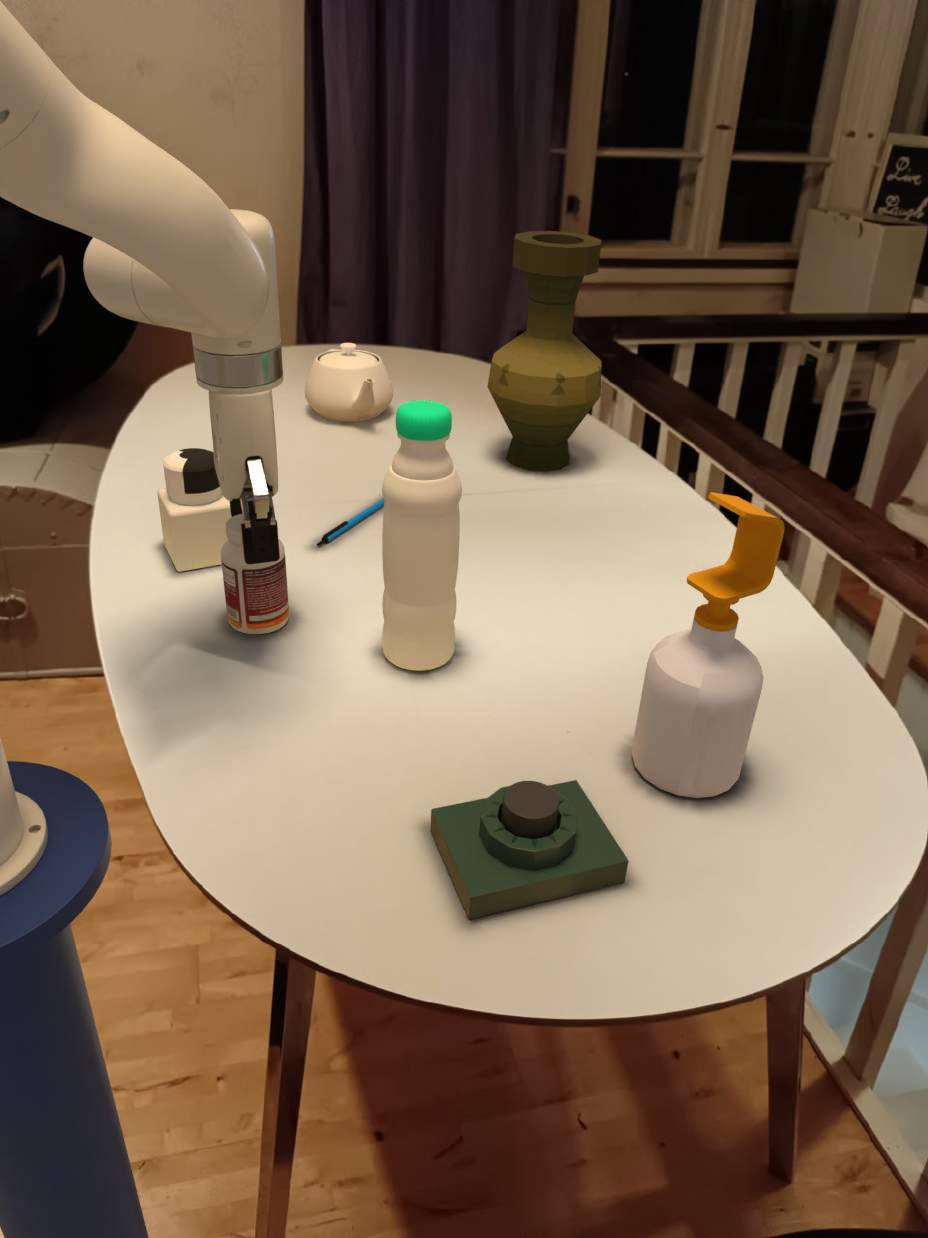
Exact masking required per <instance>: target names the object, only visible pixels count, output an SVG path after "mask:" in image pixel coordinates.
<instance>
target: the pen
mask: <svg viewBox="0 0 928 1238" xmlns="http://www.w3.org/2000/svg"><path fill="white" fill-rule="evenodd" d="M384 503H385V500H384V497H383V498H381V499H379V500H378V501H376V502H375V503H373V504H372V505H370V506H369V507H367V508H365V509H364V510H362V511H361V512H360V513H358V514H356V515H355V516H353V517H351V518H350V519H348V520H344V521H342V522H341V523H340V524H338V525H337V526H335V527H334V528H332V529H331V530H329V531H327V532H326V533H325V534H323V535H322V537H321V540H320V541H319V542H317V543H316V547H320V546H322V545H323V544H325V545H327V544H329V543H330V542H332V541H333V540H335V539H336V538H338V537H339V536H341V535H342V534H344V533H345V532H347V531H348V530H350V529H351V528H353V527H354V526H356V525H357V524H359V523H360V522H362V521H363V520H365V519H367V518H368V517H369V516H371V515H372V514H374V513H375V512H377V511H379V510H380V509H383V508H384Z"/></svg>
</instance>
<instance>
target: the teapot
mask: <svg viewBox="0 0 928 1238" xmlns="http://www.w3.org/2000/svg"><path fill="white" fill-rule="evenodd" d="M339 347H340V349H335V348H330V349H328V350H327V351H324V352H322V353H319V354H318V355H316V357H315V358H314V360H313V363H312V365H311V367H310V369H309V372H308V374H307V378H306V381H305V386H304V397H305V400H306V401H307V403H308V405H309V406H310V407H311V408H312V409H313V410H314V411H316V412H317V413H318V414H319V415H320V416H321V417H324V418H326V419H328V420H333V421H340V422H361V421H368V420H371V419H375V418H376V417H379V415H381V413H382V412H384V411H385V410H386V409H387V408H388V407H389V406H390V404H391V403H392V401H393V397H394V391H393V390H394V389H393V384H392V381H391V378H390V375H389V372H388V371H387V368H386V366H385V364H384V361H383V360H382V358H381V357H380V356H379V355H377V354H376V353H374V352H371V351H366V350H360V349H356V348H357V344H356V343H354V342H353V343H352V342H343V343H341V344H340V345H339Z"/></svg>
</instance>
